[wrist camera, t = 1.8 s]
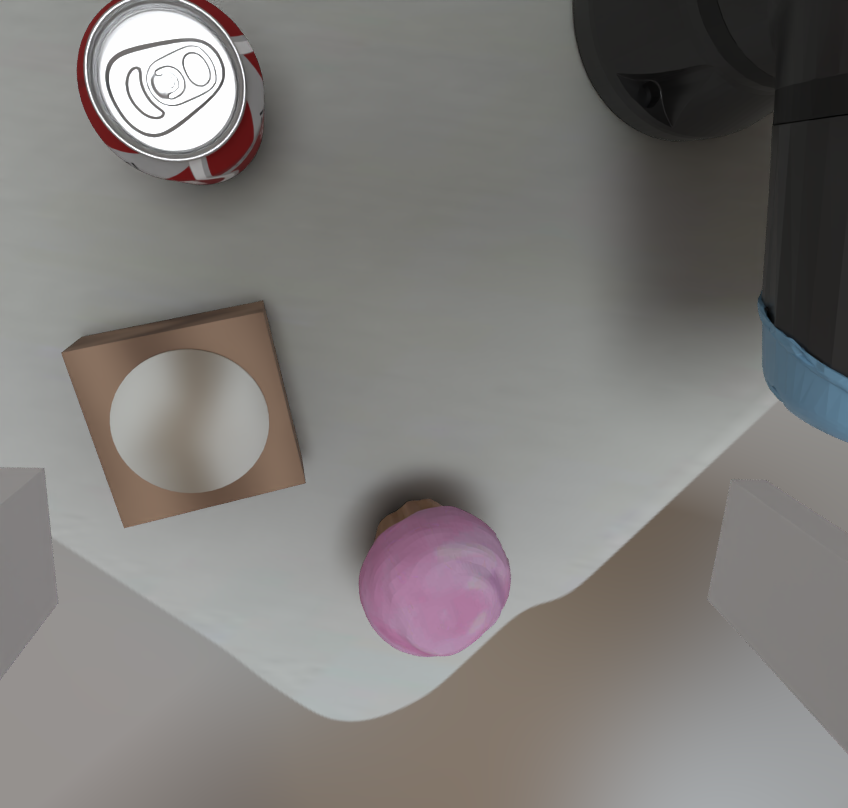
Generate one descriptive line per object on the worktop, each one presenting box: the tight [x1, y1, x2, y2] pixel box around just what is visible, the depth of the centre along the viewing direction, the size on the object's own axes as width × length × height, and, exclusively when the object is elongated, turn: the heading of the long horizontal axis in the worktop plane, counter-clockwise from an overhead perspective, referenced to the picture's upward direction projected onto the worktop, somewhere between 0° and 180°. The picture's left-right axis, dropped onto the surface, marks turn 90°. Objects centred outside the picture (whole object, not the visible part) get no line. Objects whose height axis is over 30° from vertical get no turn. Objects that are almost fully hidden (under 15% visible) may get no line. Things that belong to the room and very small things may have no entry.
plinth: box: [62, 301, 306, 528], centre depth 37 cm, size 10×10×4 cm
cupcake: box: [359, 499, 511, 657], centre depth 40 cm, size 9×9×10 cm
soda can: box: [77, 0, 264, 185], centre depth 29 cm, size 7×7×12 cm
